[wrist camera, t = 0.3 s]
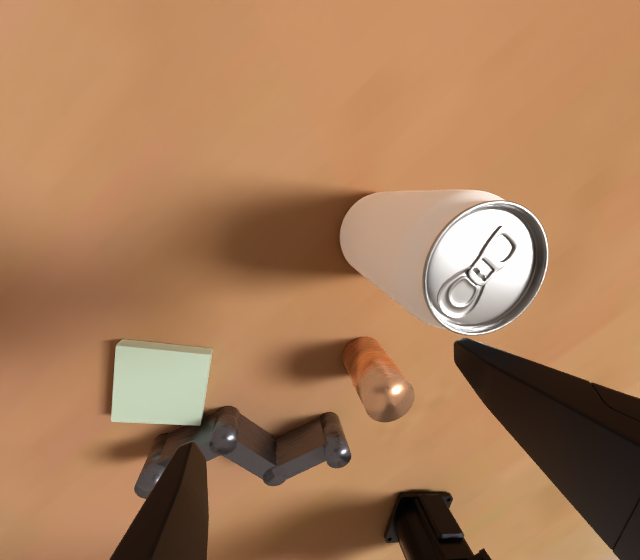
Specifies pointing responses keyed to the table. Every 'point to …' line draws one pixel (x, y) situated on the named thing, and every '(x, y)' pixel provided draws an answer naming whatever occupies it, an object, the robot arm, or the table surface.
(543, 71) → the table surface
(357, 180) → the table surface
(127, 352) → the pad
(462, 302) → the can
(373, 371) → the cylinder
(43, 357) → the table surface
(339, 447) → the dark grey zigzag bar
